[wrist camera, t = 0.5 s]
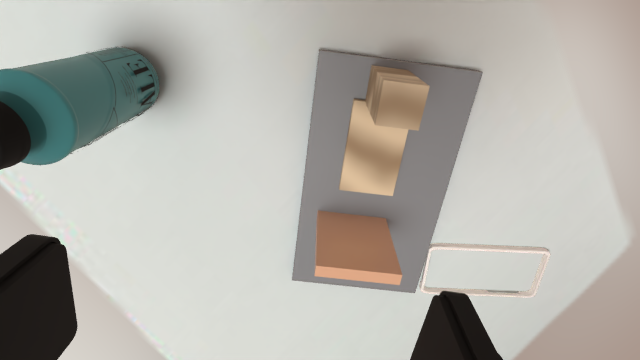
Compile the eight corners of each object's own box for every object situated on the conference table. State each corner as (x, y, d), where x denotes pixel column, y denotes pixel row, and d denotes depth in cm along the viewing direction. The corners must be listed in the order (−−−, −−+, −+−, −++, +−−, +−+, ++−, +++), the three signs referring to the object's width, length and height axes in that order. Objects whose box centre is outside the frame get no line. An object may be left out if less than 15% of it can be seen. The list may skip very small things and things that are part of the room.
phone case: (546, 245, 46) (427, 240, 46) (552, 251, 45) (429, 246, 45) (529, 290, 49) (417, 286, 49) (534, 298, 48) (420, 293, 48)
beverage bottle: (89, 66, 37) (-139, 125, 19) (138, 29, 35) (-59, 53, 17) (135, 121, 39) (-28, 219, 21) (182, 88, 37) (51, 163, 19)
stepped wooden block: (359, 63, 35) (368, 78, 28) (420, 71, 36) (444, 88, 28) (338, 187, 41) (342, 225, 34) (391, 193, 41) (406, 232, 34)
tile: (317, 210, 42) (315, 265, 33) (385, 218, 43) (402, 275, 34) (316, 220, 43) (314, 277, 34) (383, 227, 43) (399, 285, 34)
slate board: (319, 49, 36) (319, 50, 35) (478, 70, 36) (482, 72, 36) (292, 275, 48) (292, 280, 47) (413, 287, 48) (414, 293, 47)
